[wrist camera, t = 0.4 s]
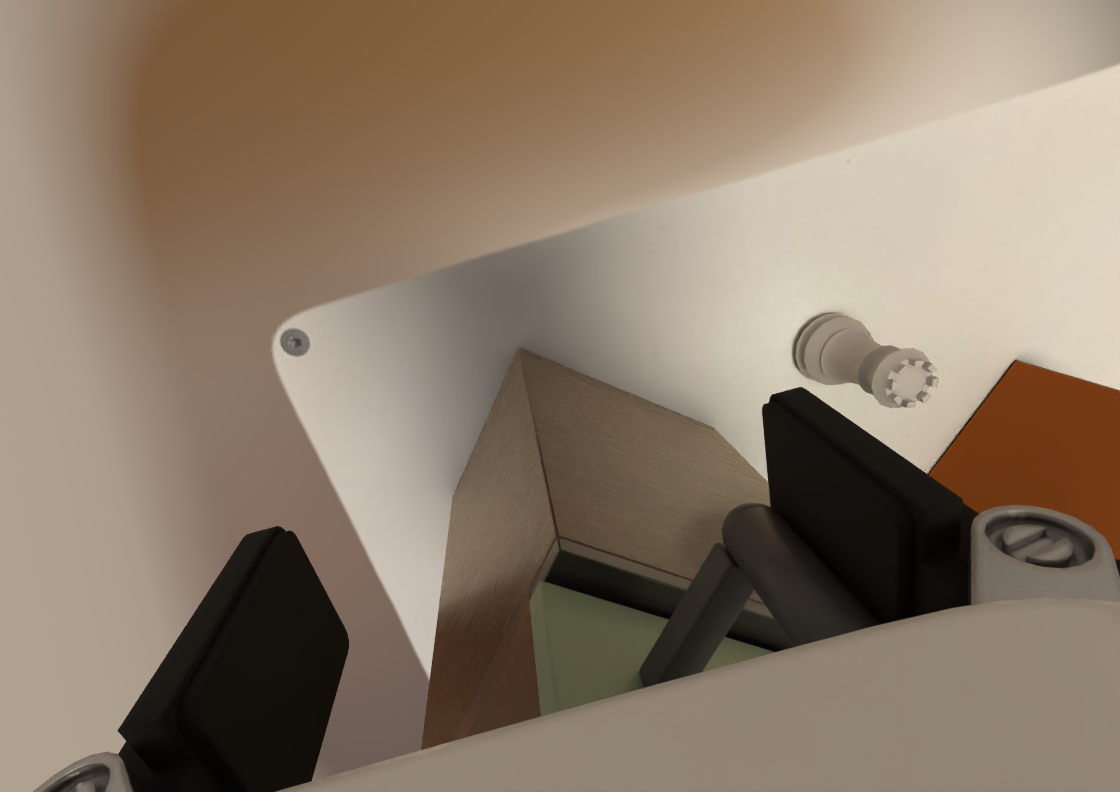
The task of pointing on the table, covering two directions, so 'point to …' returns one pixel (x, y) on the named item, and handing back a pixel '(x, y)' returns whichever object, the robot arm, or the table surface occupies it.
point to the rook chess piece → (863, 362)
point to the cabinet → (573, 532)
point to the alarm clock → (1042, 449)
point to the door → (689, 616)
